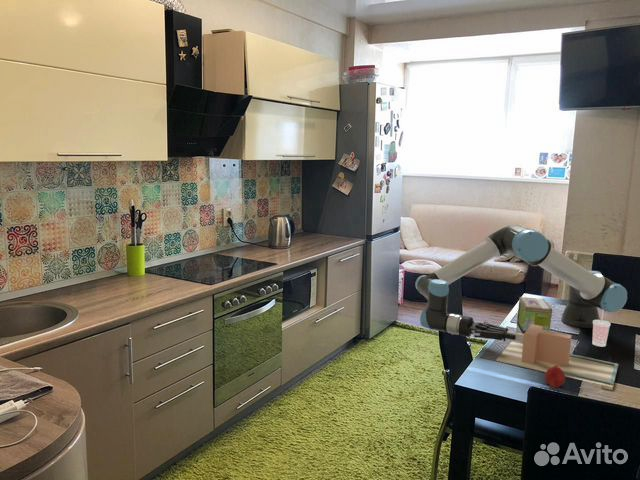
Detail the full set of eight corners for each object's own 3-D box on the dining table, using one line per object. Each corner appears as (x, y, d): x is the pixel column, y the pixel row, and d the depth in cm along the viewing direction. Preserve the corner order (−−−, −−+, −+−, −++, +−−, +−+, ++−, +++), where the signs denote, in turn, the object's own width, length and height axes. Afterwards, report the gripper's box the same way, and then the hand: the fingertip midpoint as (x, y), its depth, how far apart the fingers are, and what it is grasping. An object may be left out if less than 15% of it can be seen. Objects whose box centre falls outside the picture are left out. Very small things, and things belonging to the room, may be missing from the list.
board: (511, 344, 204) (511, 340, 204) (618, 366, 185) (618, 362, 184) (495, 363, 186) (496, 358, 185) (612, 390, 167) (612, 385, 166)
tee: (529, 350, 195) (531, 324, 194) (570, 358, 188) (573, 331, 186) (521, 360, 186) (524, 333, 184) (565, 370, 178) (568, 342, 176)
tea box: (549, 346, 203) (553, 308, 200) (521, 343, 205) (524, 306, 202) (541, 332, 217) (544, 297, 215) (515, 330, 219) (518, 295, 217)
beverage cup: (607, 348, 201) (611, 313, 199) (589, 345, 205) (593, 310, 202) (608, 343, 206) (612, 309, 204) (591, 340, 210) (594, 306, 207)
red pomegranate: (540, 384, 170) (543, 360, 168) (557, 384, 170) (560, 360, 169) (549, 392, 164) (552, 368, 163) (567, 392, 164) (570, 368, 163)
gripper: (465, 330, 208) (528, 343, 195) (454, 339, 197) (520, 354, 184) (467, 311, 206) (530, 323, 194) (455, 320, 196) (522, 333, 183)
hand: (525, 338), depth 189 cm, fingers closed
